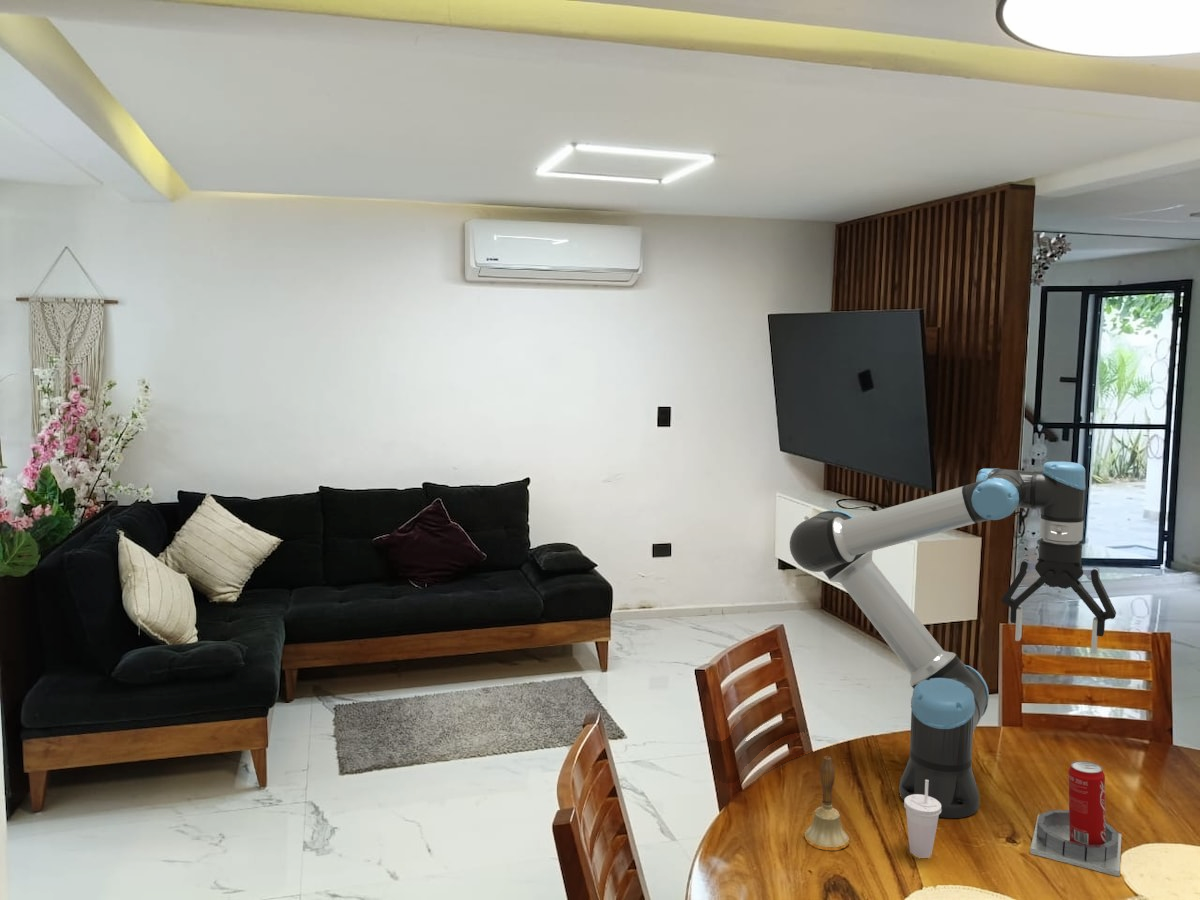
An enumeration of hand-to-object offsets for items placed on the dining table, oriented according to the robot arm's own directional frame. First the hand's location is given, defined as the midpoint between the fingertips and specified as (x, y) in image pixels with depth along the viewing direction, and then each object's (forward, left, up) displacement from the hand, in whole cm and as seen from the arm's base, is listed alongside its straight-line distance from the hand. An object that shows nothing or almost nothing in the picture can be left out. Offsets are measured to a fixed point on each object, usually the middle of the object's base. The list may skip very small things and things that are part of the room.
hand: (1055, 645), depth 181 cm
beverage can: (+8, -19, -31) cm, 37 cm away
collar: (+6, -18, -32) cm, 37 cm away
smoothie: (-18, -35, -32) cm, 50 cm away
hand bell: (-34, -39, -32) cm, 60 cm away
